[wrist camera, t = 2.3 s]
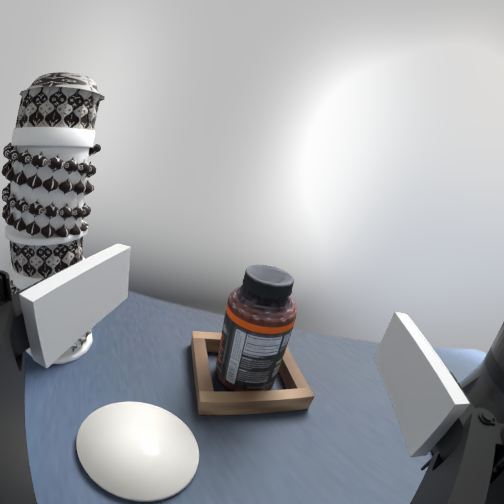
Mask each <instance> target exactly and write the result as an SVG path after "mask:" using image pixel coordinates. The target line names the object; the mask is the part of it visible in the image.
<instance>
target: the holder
mask: <svg viewBox="0 0 504 504" xmlns="http://www.w3.org/2000/svg"><path fill="white" fill-rule="evenodd" d="M221 336H222V333H213V332H198V331H192V340H191V350H192V360H193V370H194V379H195V388H196V396H197V404H198V412H199V415H242V414H260V413H274V412H284V411H294V410H302V409H308V408H309V406H310V404H311V402H312V400H313V398H314V394H313V393H312V391H311V389H310V387H309V386H308V384H307V382H306V380H305V378H304V377H303V375H302V373H301V371H300V369H299V368H298V366H297V364H296V362H295V360H294V359H293V357H292V355H291V353H290V351H289V349H288V348H287V347H286V350H285V353H284V356H283V359H282V362H281V365H280V368H279V371H278V372H279V374H280V376H281V378H282V380H283V382H284V385H285V387H286V389H285V390H269V391H242V392H214V390H213V385H212V379H211V374H210V368H209V362H208V356H207V352H219V346H220V342H221Z"/></svg>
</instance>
